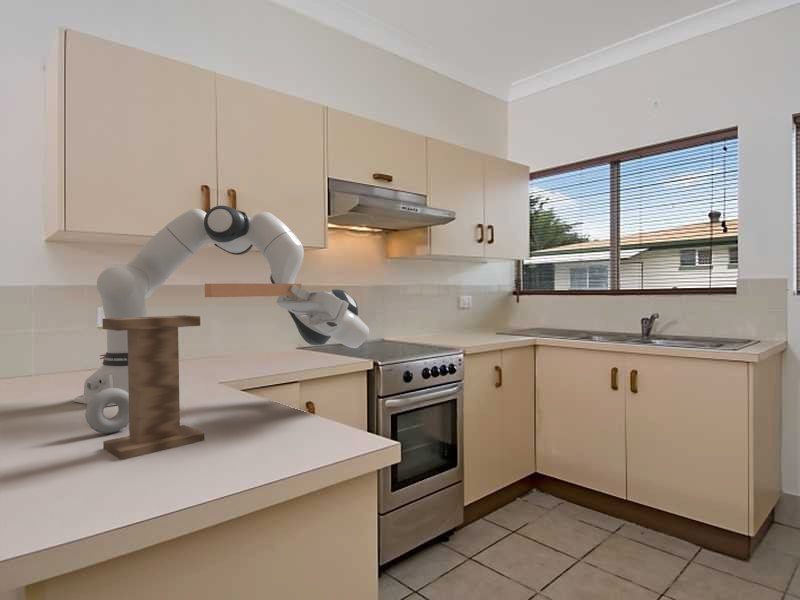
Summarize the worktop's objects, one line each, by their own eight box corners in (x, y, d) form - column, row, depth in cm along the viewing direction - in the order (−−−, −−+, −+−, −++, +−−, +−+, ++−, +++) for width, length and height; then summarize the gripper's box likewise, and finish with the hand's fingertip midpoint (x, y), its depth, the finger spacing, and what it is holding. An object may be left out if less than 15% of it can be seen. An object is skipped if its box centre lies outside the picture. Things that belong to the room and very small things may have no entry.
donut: (131, 426, 115) (130, 383, 114) (138, 429, 112) (137, 385, 112) (83, 436, 107) (82, 390, 107) (89, 439, 105) (88, 392, 105)
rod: (294, 295, 128) (294, 283, 128) (301, 295, 126) (301, 283, 126) (204, 297, 110) (204, 283, 110) (211, 297, 108) (211, 283, 108)
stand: (183, 431, 110) (181, 315, 110) (204, 440, 103) (202, 316, 103) (103, 448, 99) (100, 318, 98) (121, 459, 92) (118, 320, 91)
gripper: (305, 302, 141) (268, 278, 132) (353, 303, 127) (315, 276, 118) (296, 322, 139) (257, 298, 130) (344, 325, 125) (304, 299, 116)
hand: (285, 287), depth 124 cm, fingers closed on rod, 3 cm apart
